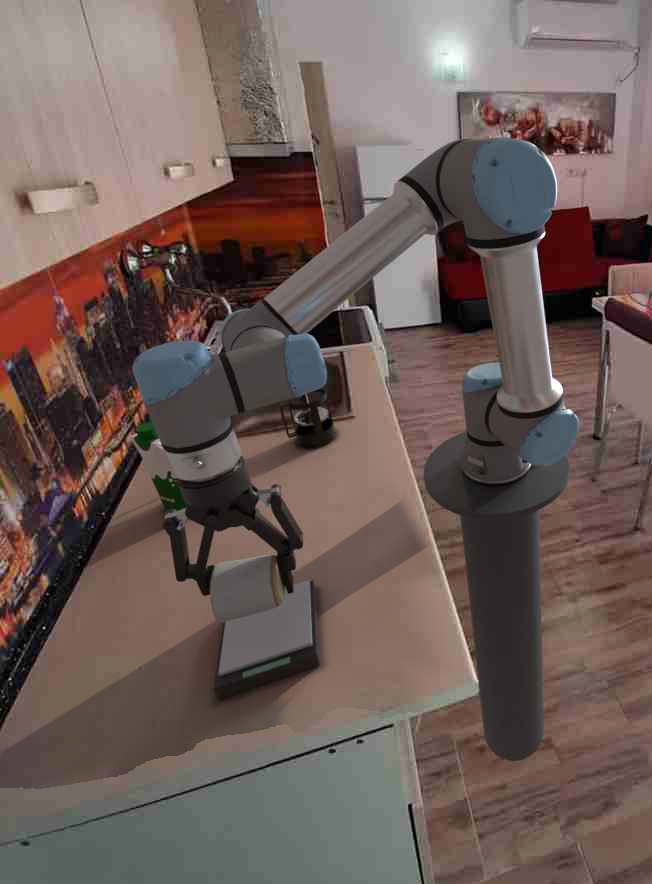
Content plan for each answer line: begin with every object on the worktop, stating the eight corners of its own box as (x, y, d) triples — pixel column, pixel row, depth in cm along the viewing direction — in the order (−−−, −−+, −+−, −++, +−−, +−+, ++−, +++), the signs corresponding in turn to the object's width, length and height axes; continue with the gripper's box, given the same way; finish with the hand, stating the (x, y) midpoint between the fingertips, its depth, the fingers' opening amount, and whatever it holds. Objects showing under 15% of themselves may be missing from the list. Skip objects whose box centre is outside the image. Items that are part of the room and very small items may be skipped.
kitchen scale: (316, 590, 84) (312, 576, 82) (320, 665, 72) (315, 651, 70) (230, 616, 80) (224, 603, 79) (219, 700, 68) (212, 685, 67)
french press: (331, 422, 132) (312, 340, 122) (344, 437, 125) (325, 352, 115) (285, 439, 126) (261, 354, 116) (296, 456, 119) (271, 367, 109)
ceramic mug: (286, 617, 69) (272, 575, 66) (220, 636, 67) (203, 593, 64) (290, 562, 78) (278, 523, 75) (232, 577, 76) (217, 537, 73)
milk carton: (157, 511, 104) (120, 428, 95) (197, 485, 111) (165, 405, 102) (186, 522, 100) (150, 436, 91) (225, 494, 108) (195, 412, 99)
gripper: (99, 507, 56) (168, 643, 66) (300, 461, 62) (335, 592, 72) (119, 469, 63) (179, 599, 73) (299, 431, 69) (332, 555, 79)
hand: (257, 595), depth 72 cm, fingers closed on ceramic mug, 8 cm apart
